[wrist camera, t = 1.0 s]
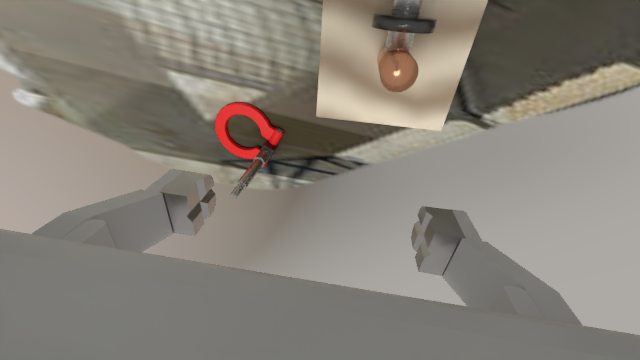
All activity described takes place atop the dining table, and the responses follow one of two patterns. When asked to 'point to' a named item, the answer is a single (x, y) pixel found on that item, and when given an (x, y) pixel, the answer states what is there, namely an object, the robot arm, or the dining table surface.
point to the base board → (362, 69)
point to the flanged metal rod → (400, 43)
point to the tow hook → (254, 153)
